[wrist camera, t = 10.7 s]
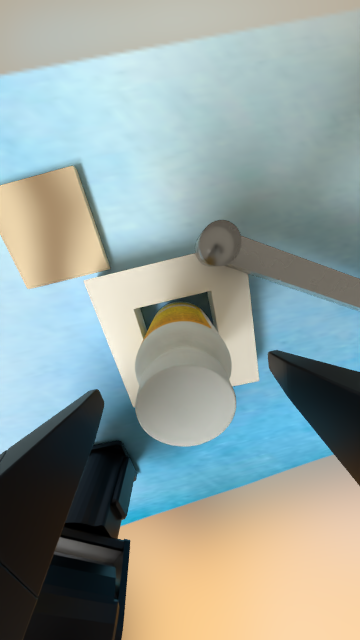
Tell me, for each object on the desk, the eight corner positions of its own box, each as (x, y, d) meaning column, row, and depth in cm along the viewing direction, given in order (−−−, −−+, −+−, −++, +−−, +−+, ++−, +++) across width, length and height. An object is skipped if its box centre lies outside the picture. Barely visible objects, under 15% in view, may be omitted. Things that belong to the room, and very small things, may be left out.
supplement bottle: (220, 328, 16) (283, 410, 7) (179, 363, 17) (185, 477, 8) (180, 287, 14) (190, 316, 5) (139, 327, 15) (87, 411, 6)
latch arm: (190, 260, 12) (193, 258, 10) (201, 224, 11) (207, 213, 9) (407, 333, 14) (449, 344, 12) (427, 306, 13) (476, 312, 11)
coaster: (32, 288, 14) (27, 288, 14) (-14, 194, 12) (-22, 191, 12) (110, 269, 14) (108, 268, 13) (76, 169, 12) (72, 165, 11)
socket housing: (137, 392, 18) (133, 407, 16) (95, 279, 14) (83, 280, 12) (249, 368, 17) (259, 380, 15) (234, 245, 14) (244, 241, 12)
